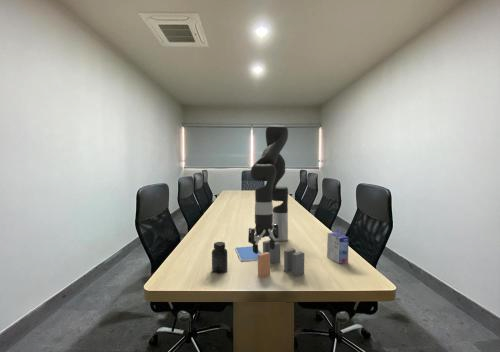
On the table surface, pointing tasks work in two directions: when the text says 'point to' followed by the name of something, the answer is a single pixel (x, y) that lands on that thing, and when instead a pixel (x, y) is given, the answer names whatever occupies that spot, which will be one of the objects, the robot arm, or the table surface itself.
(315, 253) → the table surface
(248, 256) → the blue flat board
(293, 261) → the domino
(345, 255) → the ink cartridge box
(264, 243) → the domino
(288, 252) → the domino
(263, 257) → the domino
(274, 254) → the domino
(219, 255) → the supplement bottle
